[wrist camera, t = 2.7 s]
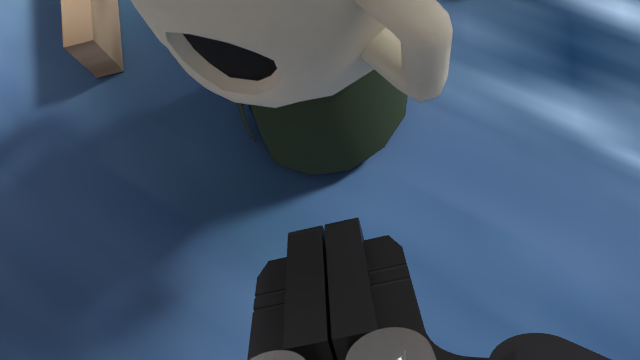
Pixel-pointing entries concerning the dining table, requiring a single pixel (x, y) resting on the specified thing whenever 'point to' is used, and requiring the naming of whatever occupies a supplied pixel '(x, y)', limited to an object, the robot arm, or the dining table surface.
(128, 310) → the dining table surface
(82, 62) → the oak dock
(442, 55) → the character mug
